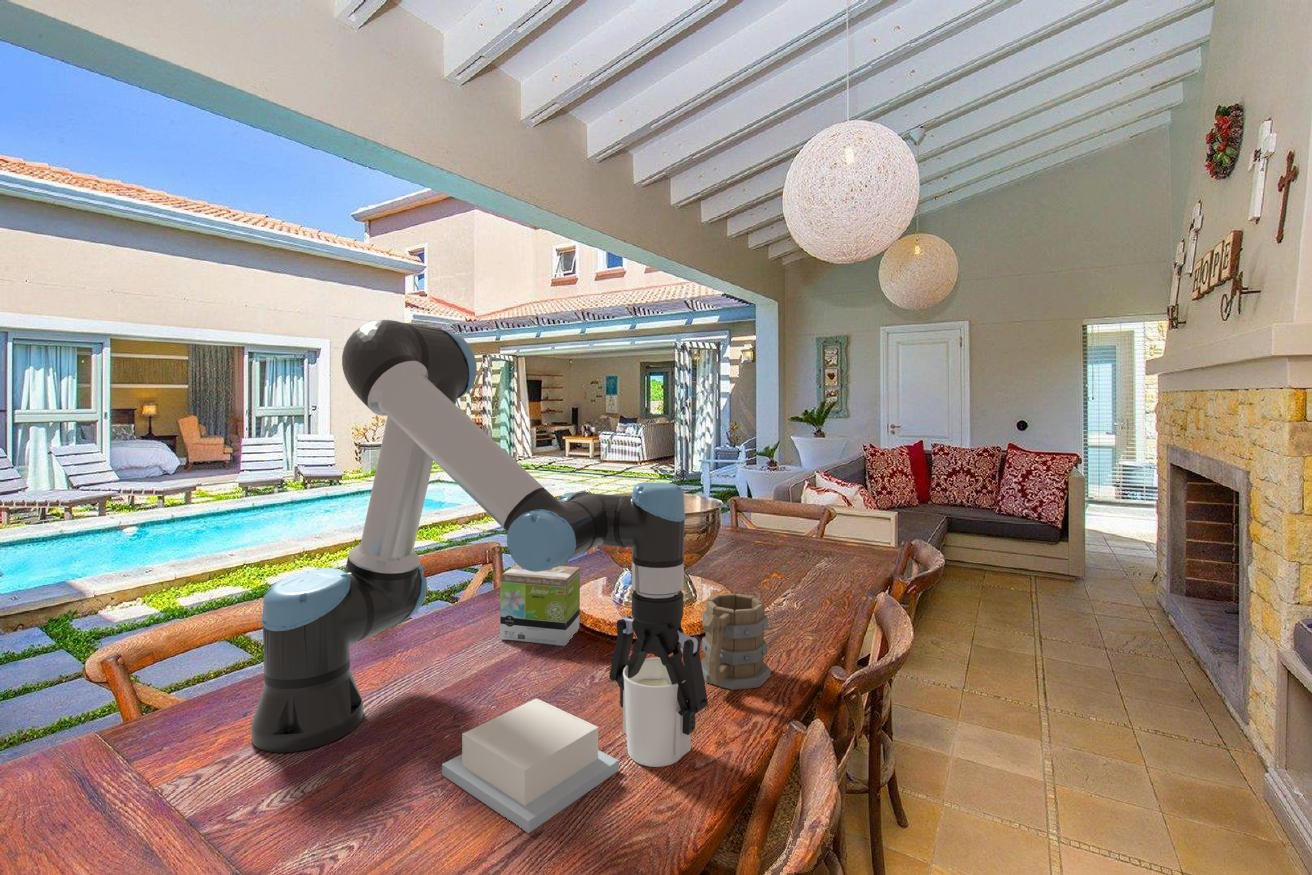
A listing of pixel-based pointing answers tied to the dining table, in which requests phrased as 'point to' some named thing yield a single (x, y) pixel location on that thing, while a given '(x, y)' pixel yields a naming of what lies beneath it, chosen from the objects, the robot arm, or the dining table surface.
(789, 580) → the dining table surface
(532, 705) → the pedestal
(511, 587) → the tea box
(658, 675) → the candle holder
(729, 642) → the tankard
